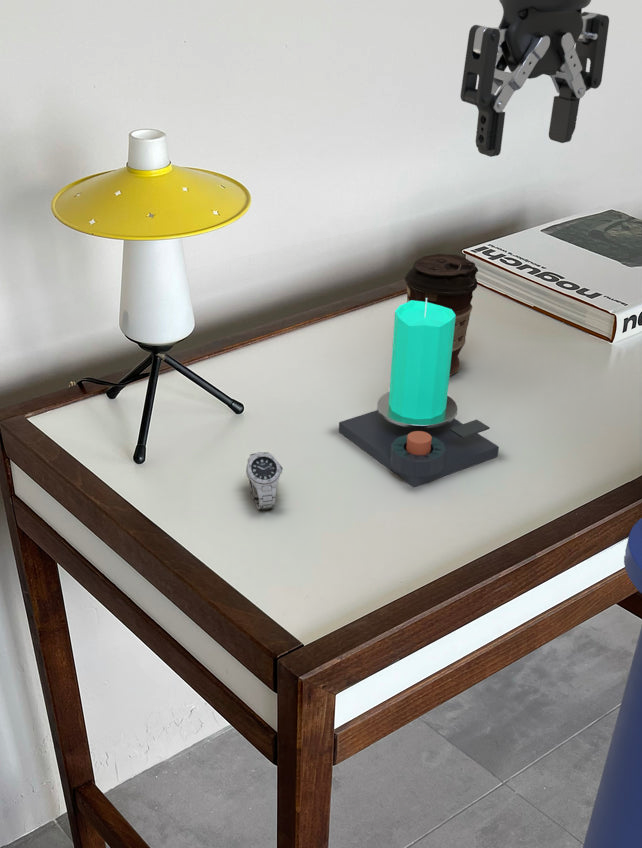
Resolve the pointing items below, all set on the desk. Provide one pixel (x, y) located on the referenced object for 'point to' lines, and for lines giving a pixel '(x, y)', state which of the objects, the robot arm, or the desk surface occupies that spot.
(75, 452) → the desk surface
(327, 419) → the desk surface
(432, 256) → the coffee cup
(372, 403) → the desk surface
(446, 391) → the candle
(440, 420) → the scale pan
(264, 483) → the wristwatch
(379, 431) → the scale
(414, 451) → the tare button
